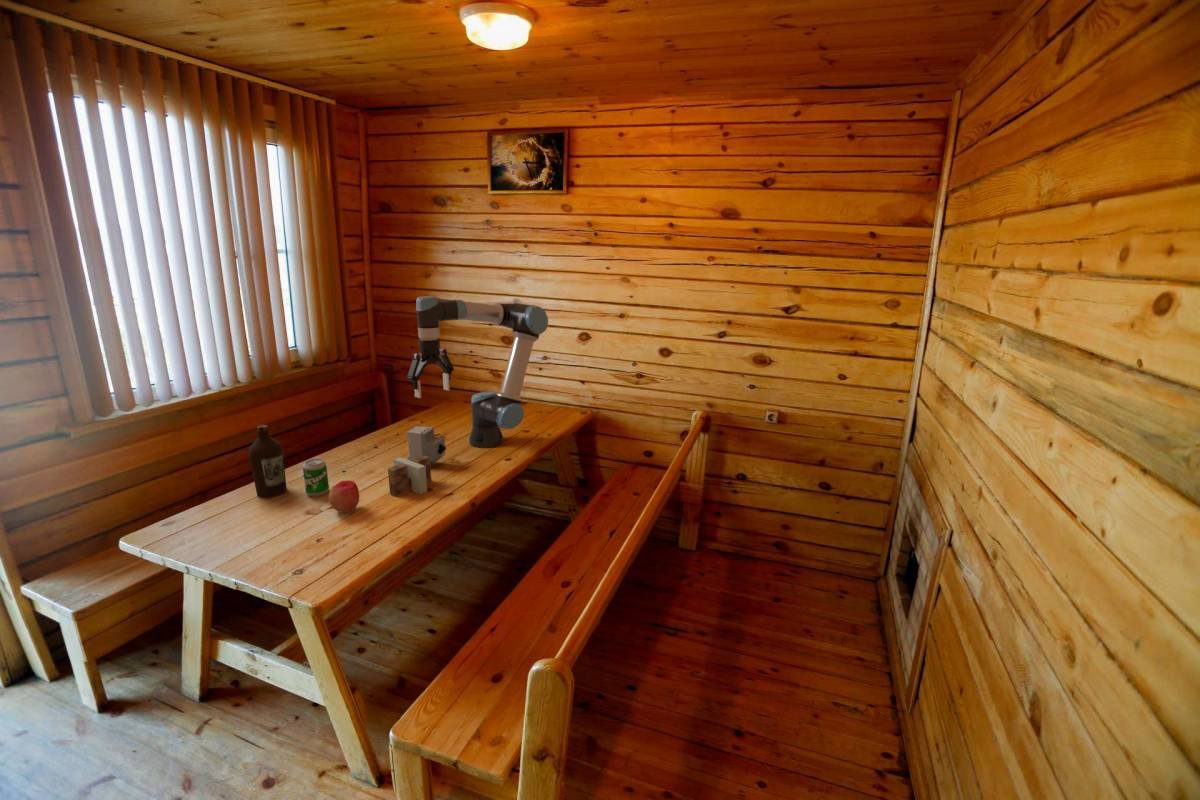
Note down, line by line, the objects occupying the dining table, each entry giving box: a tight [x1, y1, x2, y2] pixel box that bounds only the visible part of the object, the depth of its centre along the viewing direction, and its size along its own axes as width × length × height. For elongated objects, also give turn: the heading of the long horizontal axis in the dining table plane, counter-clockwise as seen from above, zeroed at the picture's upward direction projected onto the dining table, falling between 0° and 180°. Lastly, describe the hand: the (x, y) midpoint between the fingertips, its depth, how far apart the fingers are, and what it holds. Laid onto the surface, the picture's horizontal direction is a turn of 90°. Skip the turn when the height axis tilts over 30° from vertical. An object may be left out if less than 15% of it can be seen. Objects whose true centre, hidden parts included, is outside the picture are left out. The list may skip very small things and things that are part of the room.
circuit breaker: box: [405, 426, 447, 467], centre depth 232 cm, size 8×14×15 cm, turn 78°
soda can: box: [302, 458, 330, 497], centre depth 206 cm, size 8×8×12 cm
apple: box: [328, 480, 360, 513], centre depth 193 cm, size 10×10×10 cm
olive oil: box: [248, 424, 288, 499], centre depth 204 cm, size 11×11×25 cm
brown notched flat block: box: [387, 456, 432, 497], centre depth 211 cm, size 16×3×10 cm, turn 145°
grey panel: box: [393, 457, 428, 495], centre depth 211 cm, size 14×3×10 cm, turn 55°
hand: (432, 393), depth 220 cm, fingers open, 13 cm apart
